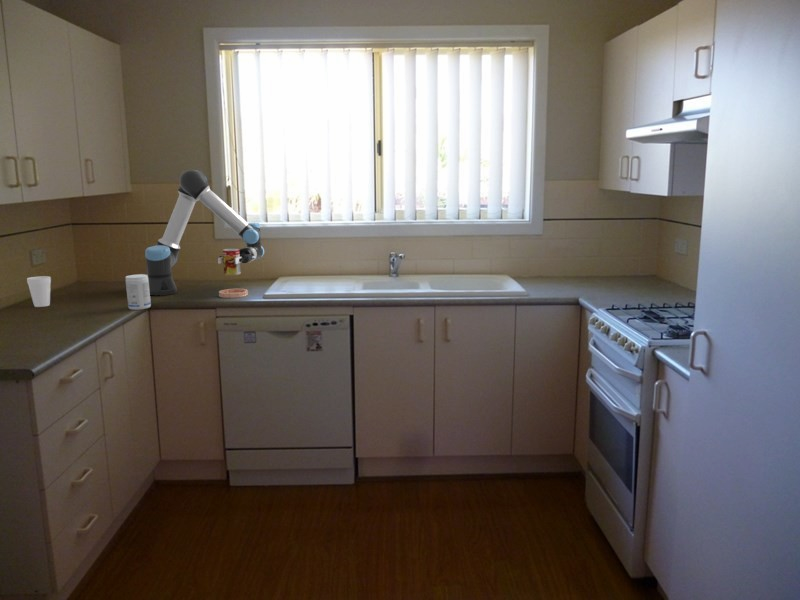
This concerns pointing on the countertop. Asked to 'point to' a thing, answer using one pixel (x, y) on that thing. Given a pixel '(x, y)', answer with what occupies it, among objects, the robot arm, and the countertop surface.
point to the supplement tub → (138, 292)
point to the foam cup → (40, 290)
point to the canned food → (231, 262)
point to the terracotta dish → (233, 293)
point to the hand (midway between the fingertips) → (227, 261)
